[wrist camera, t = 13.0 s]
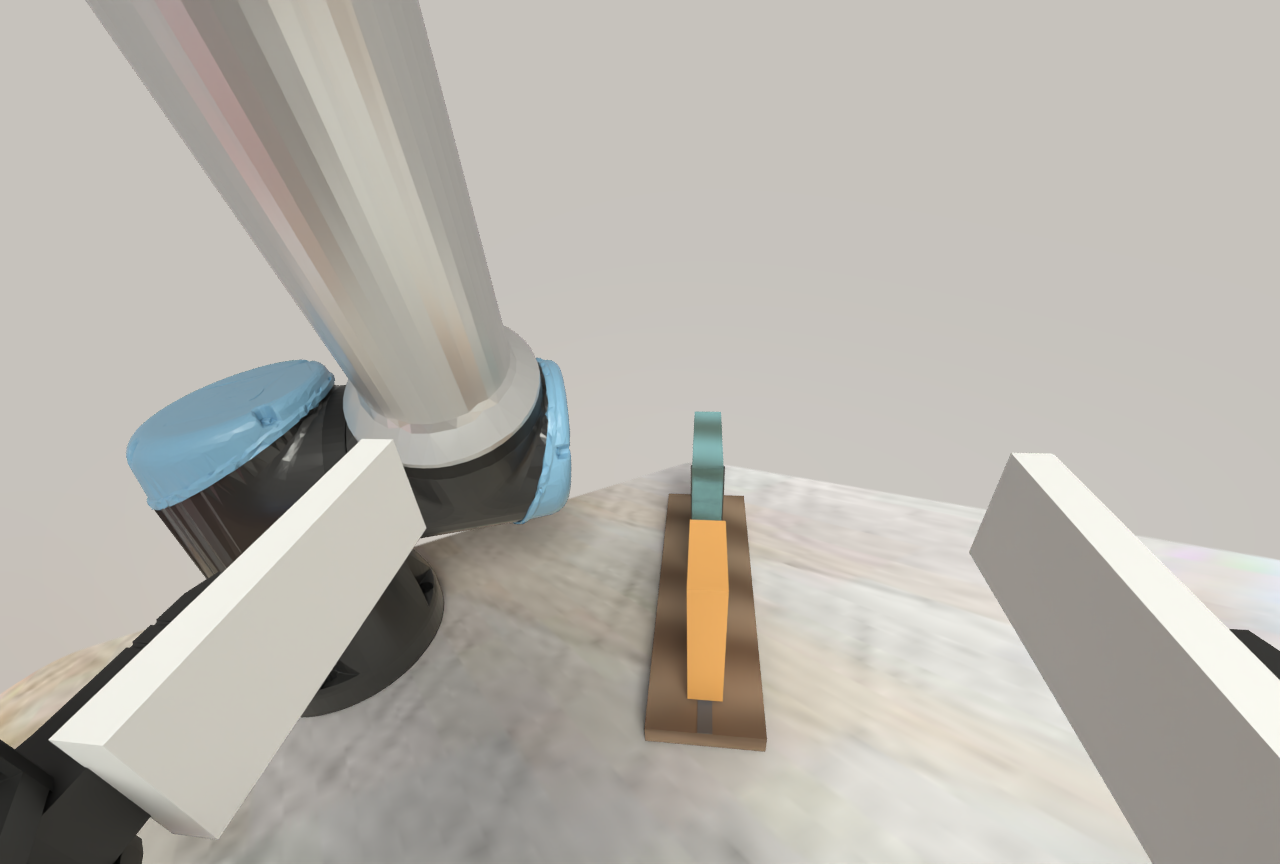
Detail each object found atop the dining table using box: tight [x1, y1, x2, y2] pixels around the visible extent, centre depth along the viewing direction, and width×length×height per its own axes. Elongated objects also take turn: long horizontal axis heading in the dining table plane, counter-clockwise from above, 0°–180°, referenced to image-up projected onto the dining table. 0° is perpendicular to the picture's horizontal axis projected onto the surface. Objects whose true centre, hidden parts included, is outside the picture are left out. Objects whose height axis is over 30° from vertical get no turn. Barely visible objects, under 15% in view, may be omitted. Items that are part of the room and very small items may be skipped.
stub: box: [687, 520, 729, 702], centre depth 34 cm, size 6×2×11 cm, turn 173°
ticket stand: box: [644, 412, 767, 751], centre depth 41 cm, size 25×8×13 cm, turn 173°
